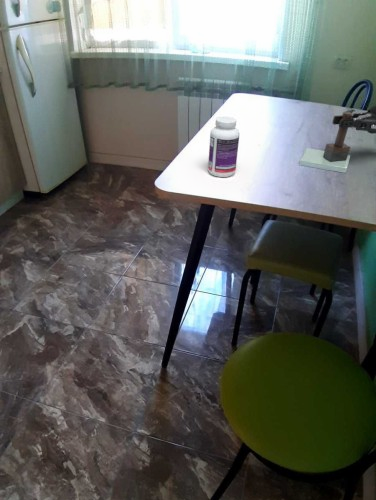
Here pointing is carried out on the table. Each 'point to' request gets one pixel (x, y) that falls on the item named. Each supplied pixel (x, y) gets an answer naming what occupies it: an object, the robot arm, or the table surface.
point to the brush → (338, 144)
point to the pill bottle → (223, 147)
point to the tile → (322, 161)
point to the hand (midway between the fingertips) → (337, 121)
